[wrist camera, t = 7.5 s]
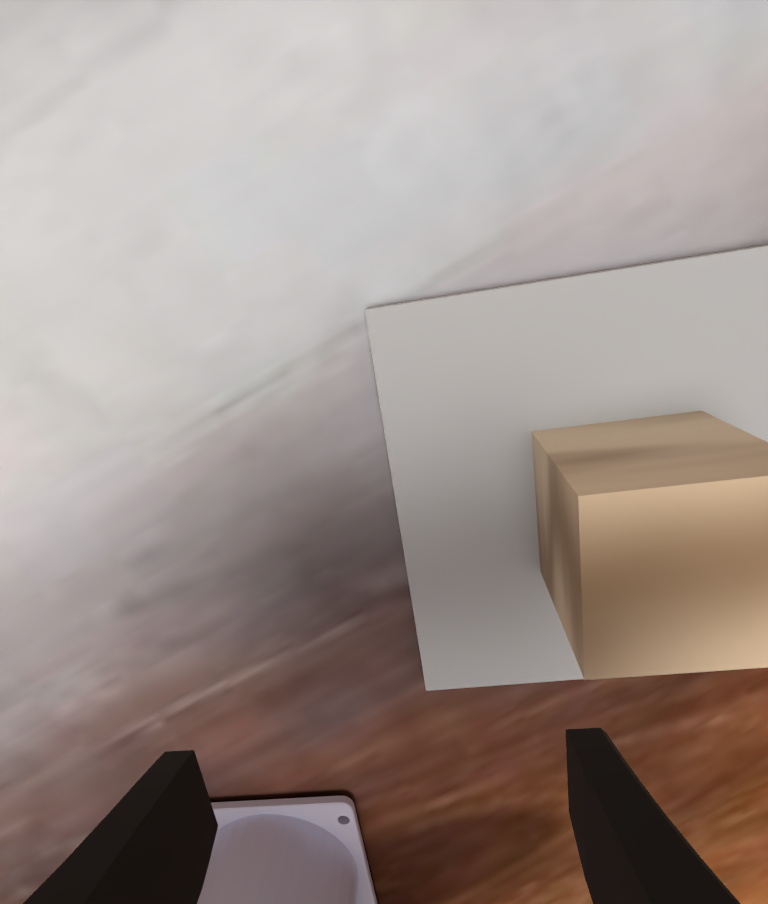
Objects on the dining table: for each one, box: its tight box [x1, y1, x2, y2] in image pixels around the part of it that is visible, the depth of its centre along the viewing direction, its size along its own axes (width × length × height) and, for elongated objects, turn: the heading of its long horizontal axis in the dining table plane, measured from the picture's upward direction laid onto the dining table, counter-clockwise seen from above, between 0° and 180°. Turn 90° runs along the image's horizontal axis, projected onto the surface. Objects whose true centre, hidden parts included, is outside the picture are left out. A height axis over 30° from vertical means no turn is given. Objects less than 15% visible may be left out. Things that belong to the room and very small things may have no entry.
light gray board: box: [365, 244, 768, 691], centre depth 17 cm, size 14×14×1 cm
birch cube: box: [532, 411, 768, 680], centre depth 14 cm, size 5×5×5 cm
